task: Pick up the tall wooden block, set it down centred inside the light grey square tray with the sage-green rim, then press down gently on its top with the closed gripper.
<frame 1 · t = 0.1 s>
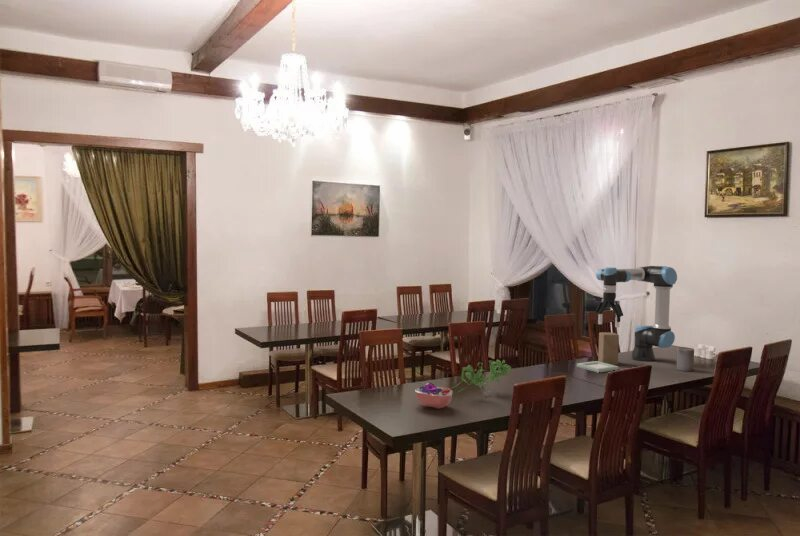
hand: (608, 325, 368), 28 cm above the table, tool pointing down, fingers open, 13 cm apart
cell model: (434, 407, 283), on the table
plant cuttings: (479, 394, 308), on the table
square tray: (597, 368, 373), on the table
pillar candle: (684, 370, 372), on the table
wooden block: (607, 363, 389), on the table
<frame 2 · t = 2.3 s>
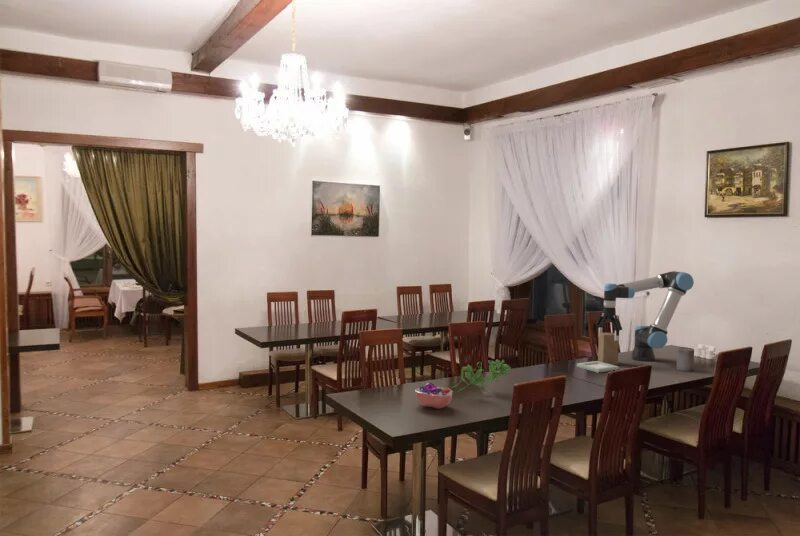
hand: (608, 338, 388), 16 cm above the table, tool pointing down, fingers open, 13 cm apart
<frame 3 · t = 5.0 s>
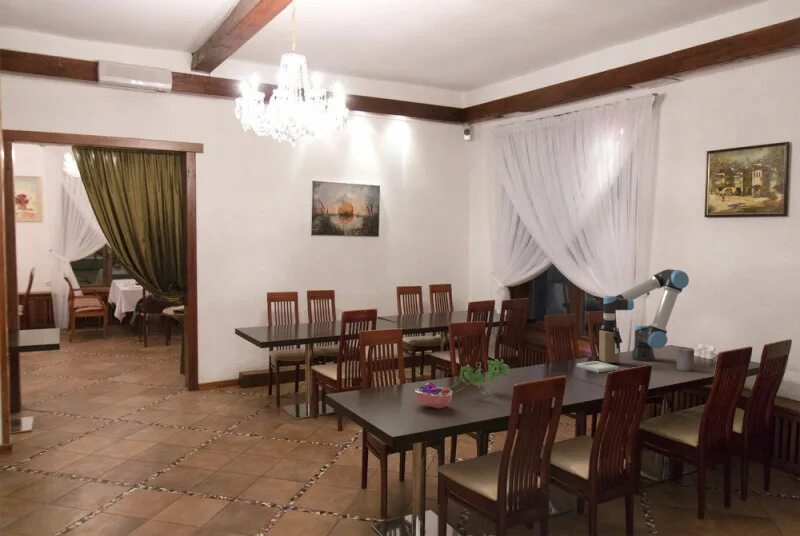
hand: (608, 351, 388), 8 cm above the table, tool pointing down, fingers closed on wooden block, 12 cm apart
wooden block: (609, 361, 389), point 1 cm above the table, touching gripper, hand
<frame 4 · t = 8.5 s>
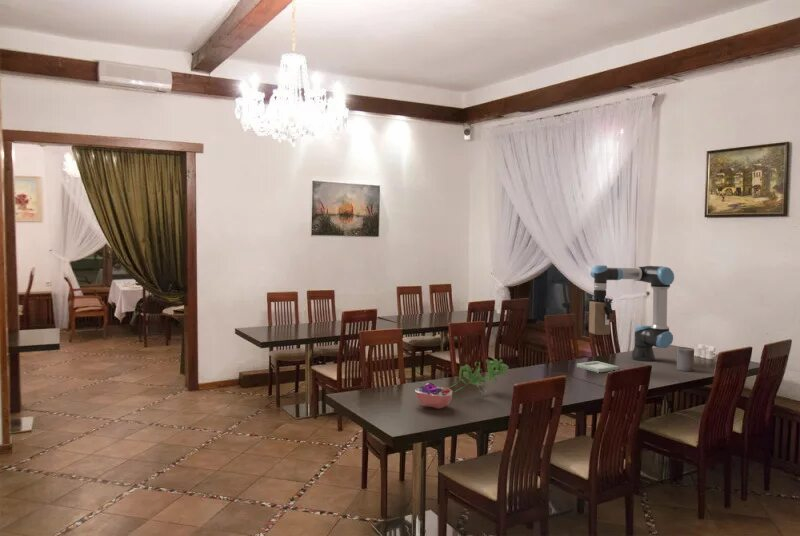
hand: (598, 323, 372), 29 cm above the table, tool pointing down, fingers closed on wooden block, 12 cm apart
wooden block: (599, 333, 372), point 22 cm above the table, touching gripper, hand
when the fingers open (8 cm above the table, at t = 11.9 s): wooden block stays where it is, resting on square tray.
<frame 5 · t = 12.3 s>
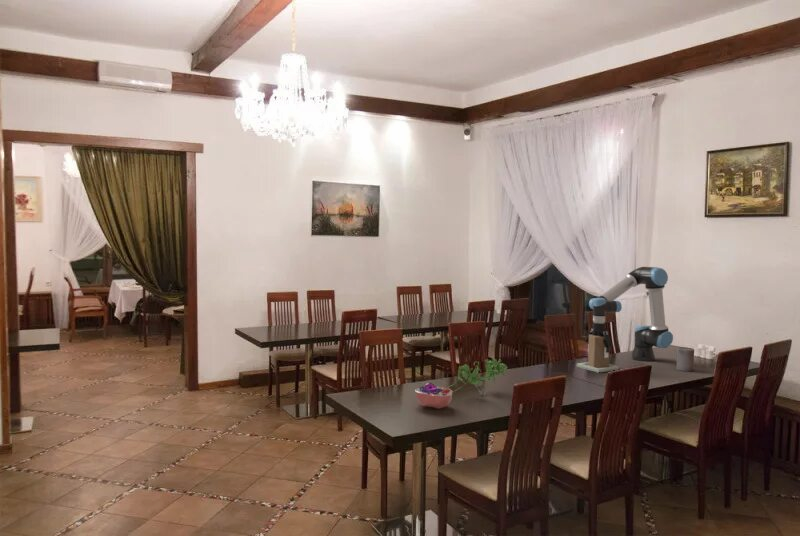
hand: (597, 355, 373), 8 cm above the table, tool pointing down, fingers open, 13 cm apart
wooden block: (598, 367, 373), point 1 cm above the table, touching square tray
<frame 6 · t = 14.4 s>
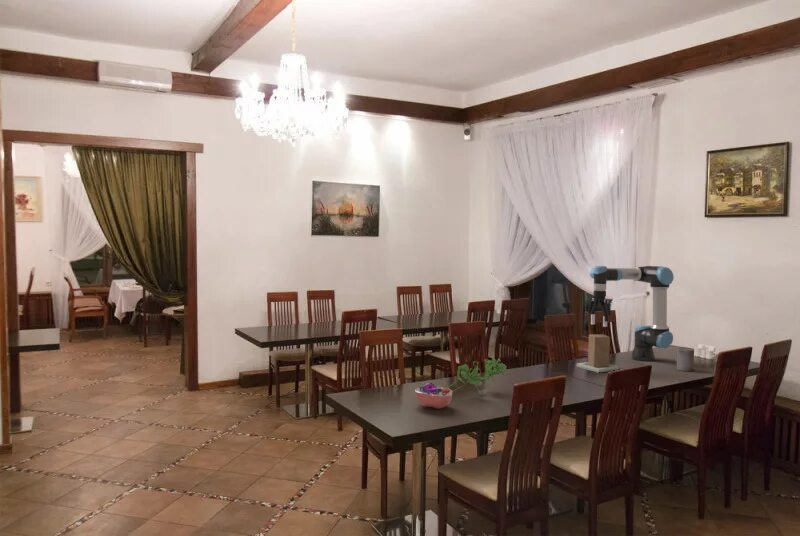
hand: (598, 325, 372), 28 cm above the table, tool pointing down, fingers open, 9 cm apart
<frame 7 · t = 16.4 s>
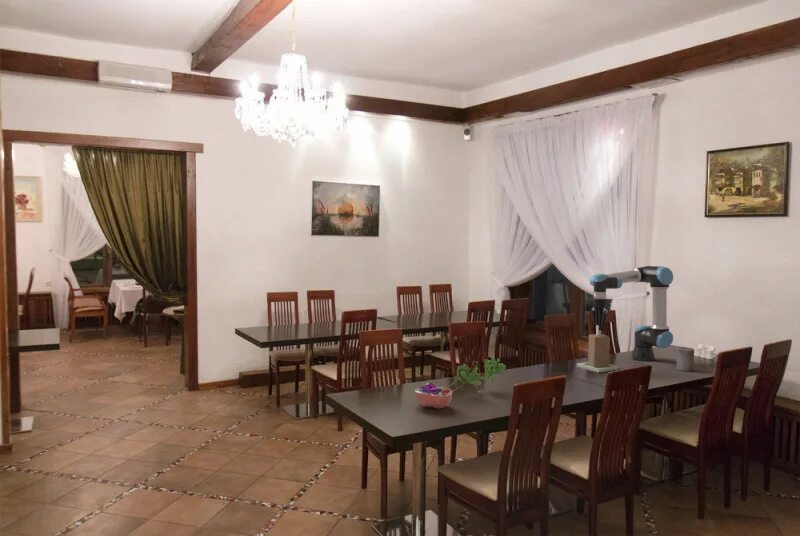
hand: (598, 335, 372), 21 cm above the table, tool pointing down, fingers closed
wooden block: (598, 367, 373), point 1 cm above the table, touching gripper, square tray
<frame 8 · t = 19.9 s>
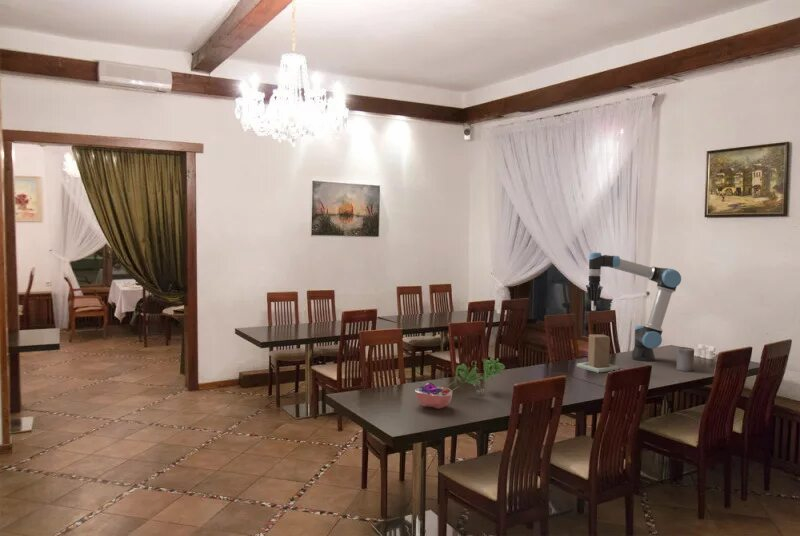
hand: (593, 310, 394), 34 cm above the table, tool pointing down, fingers closed
wooden block: (598, 367, 373), point 1 cm above the table, touching square tray
at the end: wooden block 0.5 cm off-centre on the square tray, point 0.8 cm above the square tray's base; wooden block tilted 0°; the gripper is holding nothing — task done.
